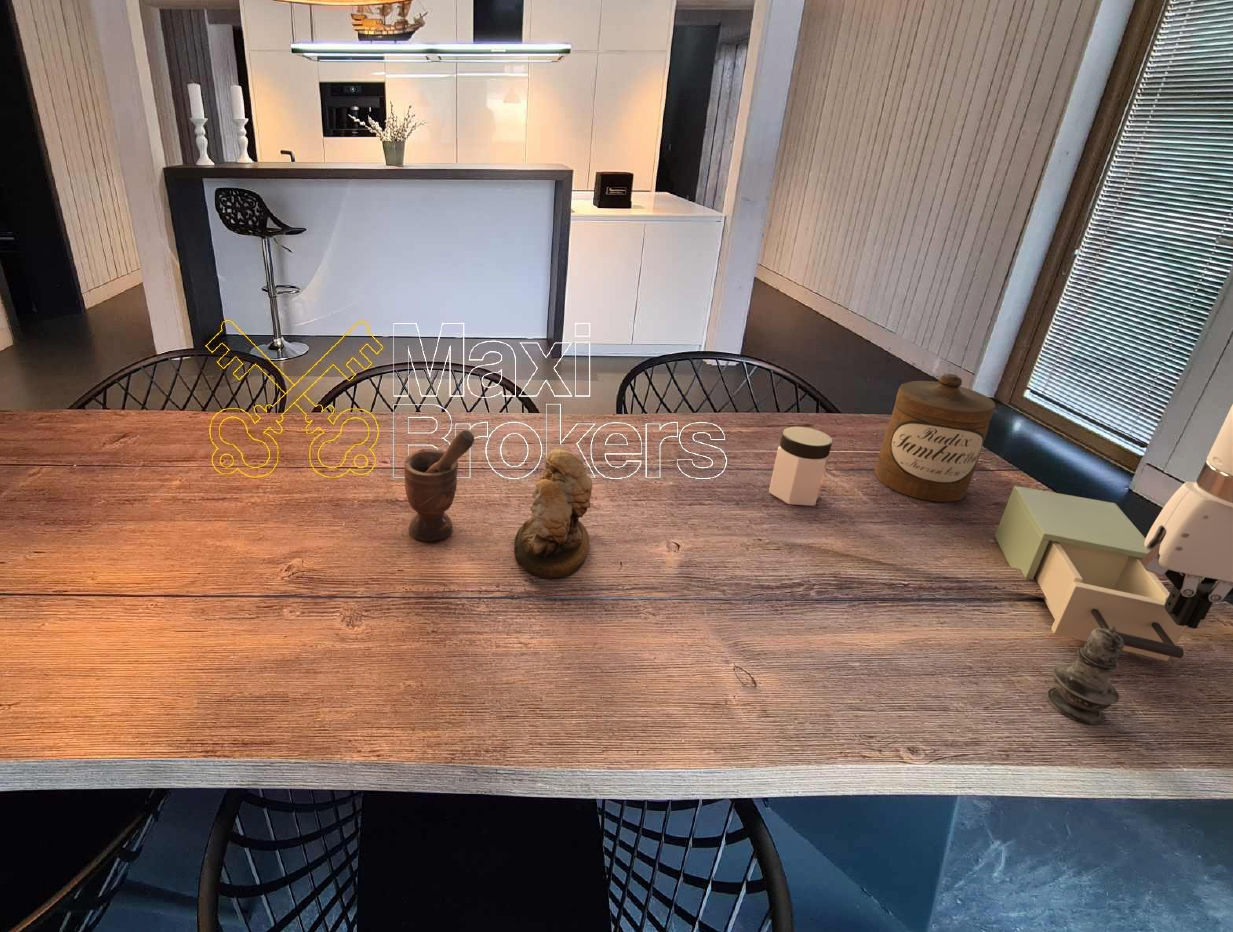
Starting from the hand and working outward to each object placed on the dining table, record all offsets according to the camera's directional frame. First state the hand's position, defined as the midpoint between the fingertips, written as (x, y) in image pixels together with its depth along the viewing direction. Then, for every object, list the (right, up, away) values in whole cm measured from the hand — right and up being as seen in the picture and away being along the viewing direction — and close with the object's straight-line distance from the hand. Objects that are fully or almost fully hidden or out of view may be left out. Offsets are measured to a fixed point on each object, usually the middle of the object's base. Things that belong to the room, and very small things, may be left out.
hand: (1180, 619), depth 80 cm
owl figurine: (-72, +3, +28) cm, 77 cm away
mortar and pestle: (-90, +4, +31) cm, 95 cm away
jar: (-25, +9, +43) cm, 51 cm away
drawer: (-1, -4, +10) cm, 11 cm away
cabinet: (+5, 0, +22) cm, 23 cm away
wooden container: (+1, +10, +47) cm, 49 cm away
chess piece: (-14, -10, -1) cm, 17 cm away
